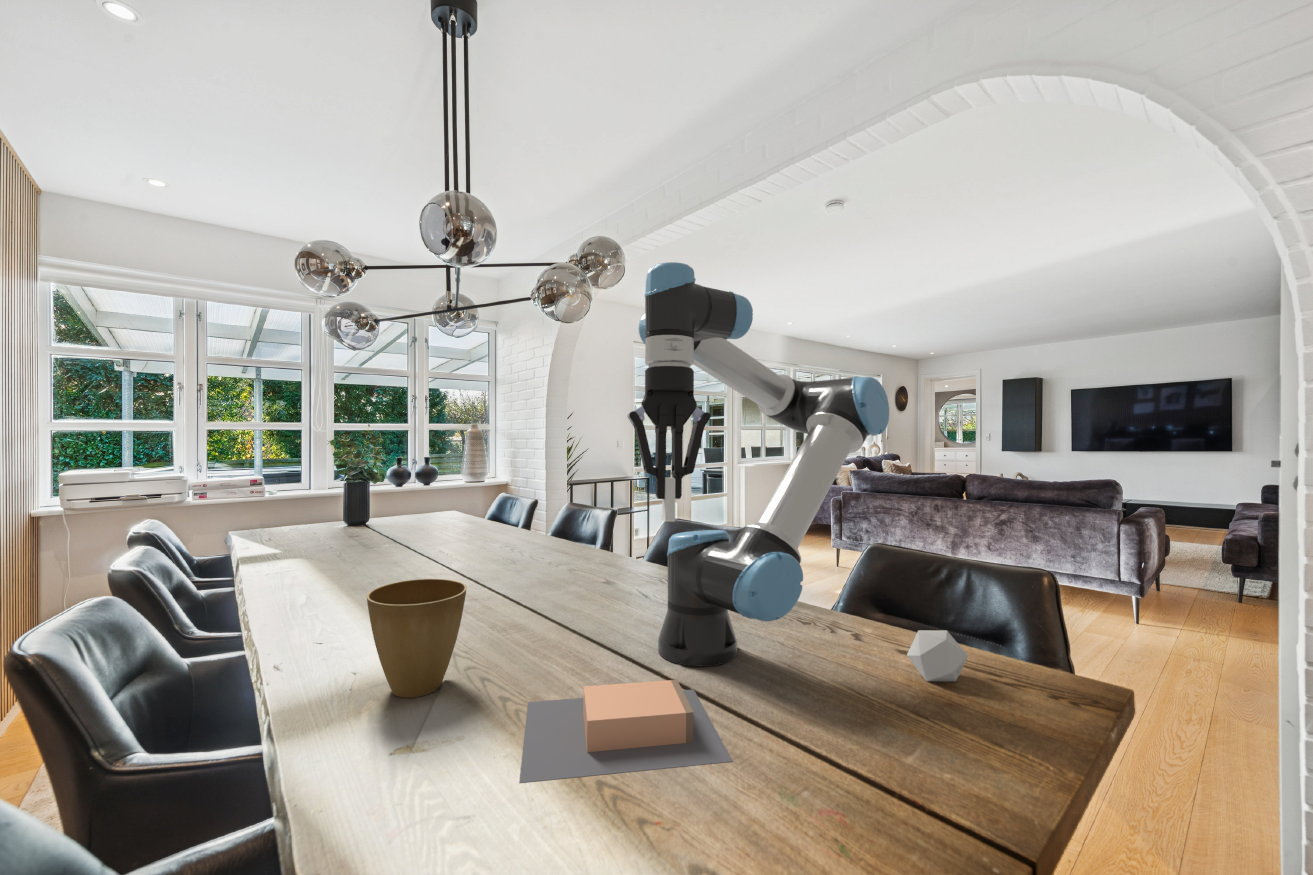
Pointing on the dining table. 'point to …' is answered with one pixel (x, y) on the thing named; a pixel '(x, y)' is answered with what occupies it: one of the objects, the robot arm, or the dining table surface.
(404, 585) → the plant pot
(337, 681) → the dining table surface
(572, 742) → the mat
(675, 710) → the pink rectangular block
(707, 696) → the dining table surface
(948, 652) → the die
